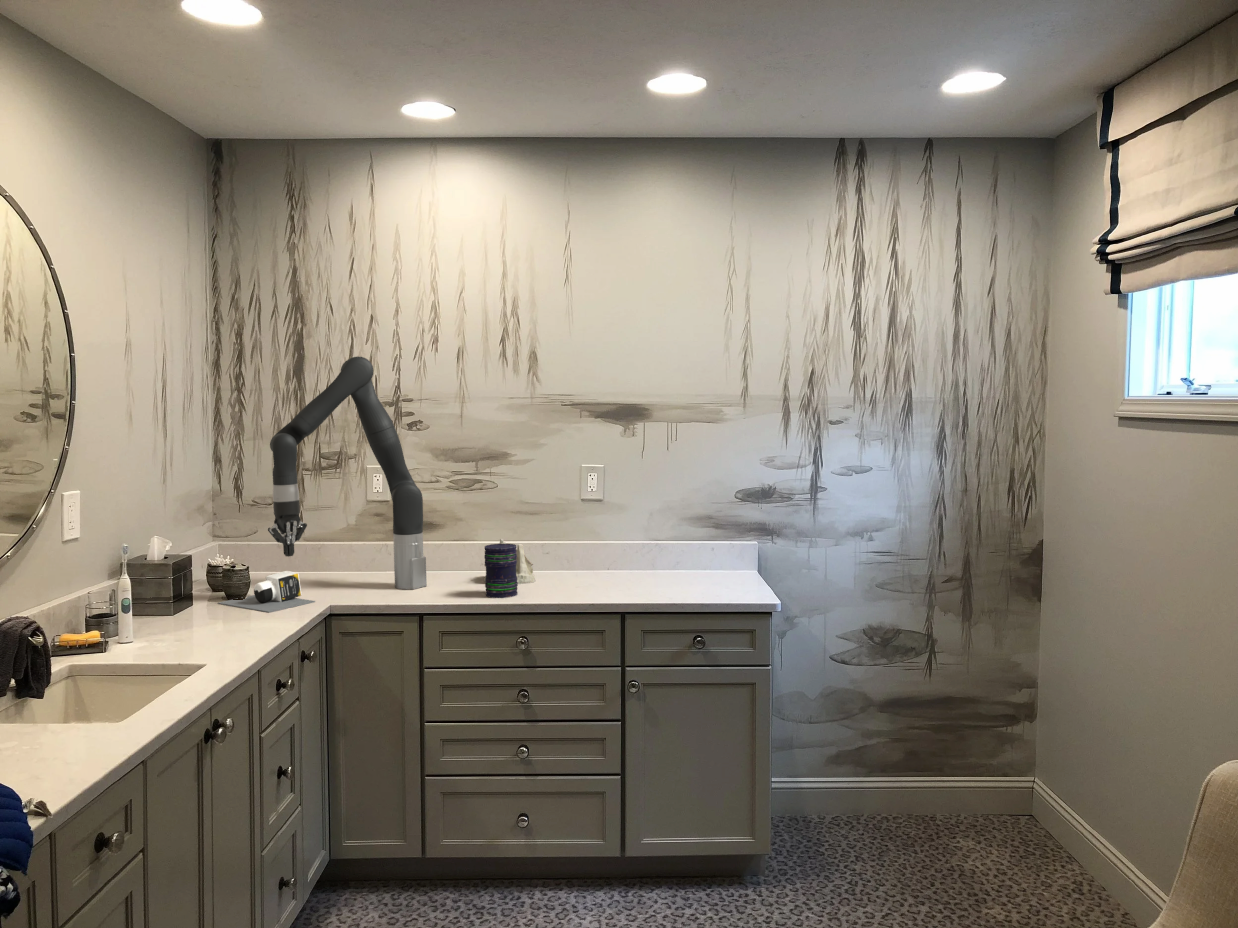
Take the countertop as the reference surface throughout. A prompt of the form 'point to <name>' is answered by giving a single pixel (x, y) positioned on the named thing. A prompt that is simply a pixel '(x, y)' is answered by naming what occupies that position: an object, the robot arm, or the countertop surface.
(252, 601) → the rubber mat
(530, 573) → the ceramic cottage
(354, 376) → the robot arm
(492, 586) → the storage jar
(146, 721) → the countertop surface
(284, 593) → the medicine bottle
